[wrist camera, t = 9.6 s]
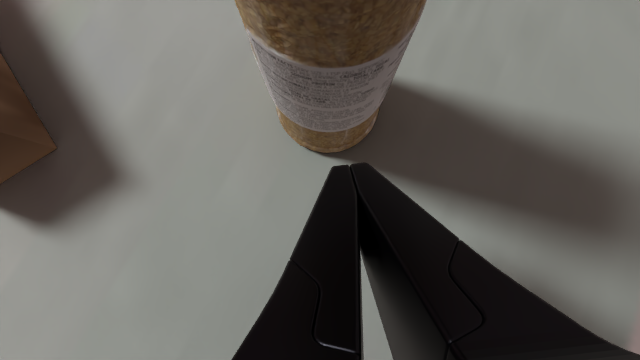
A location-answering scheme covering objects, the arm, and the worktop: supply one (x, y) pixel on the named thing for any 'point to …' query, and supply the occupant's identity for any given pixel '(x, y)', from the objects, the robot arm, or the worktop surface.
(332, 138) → the sprinkles bottle
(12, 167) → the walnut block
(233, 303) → the worktop surface
